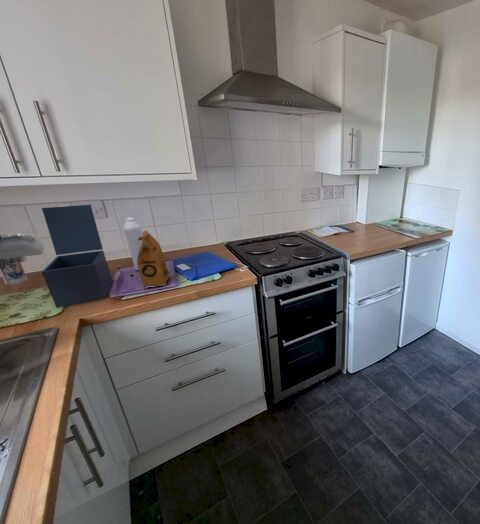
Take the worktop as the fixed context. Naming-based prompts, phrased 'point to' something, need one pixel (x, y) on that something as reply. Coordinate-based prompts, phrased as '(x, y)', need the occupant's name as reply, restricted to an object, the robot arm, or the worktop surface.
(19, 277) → the beer can
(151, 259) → the coffee package
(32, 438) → the worktop surface
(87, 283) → the storage box
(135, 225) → the water bottle
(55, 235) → the box lid
